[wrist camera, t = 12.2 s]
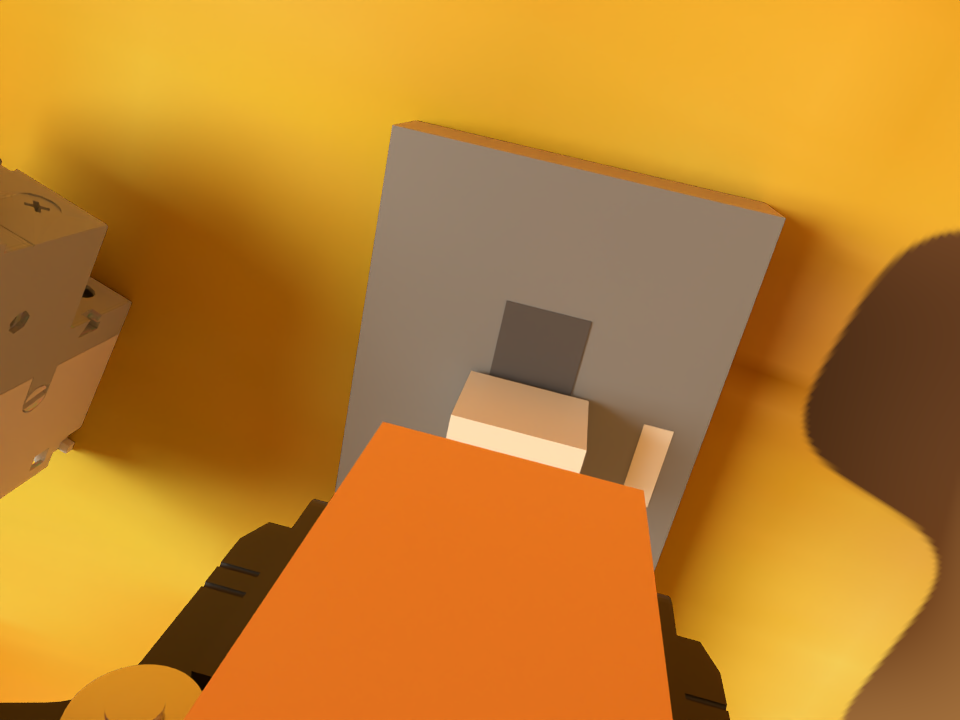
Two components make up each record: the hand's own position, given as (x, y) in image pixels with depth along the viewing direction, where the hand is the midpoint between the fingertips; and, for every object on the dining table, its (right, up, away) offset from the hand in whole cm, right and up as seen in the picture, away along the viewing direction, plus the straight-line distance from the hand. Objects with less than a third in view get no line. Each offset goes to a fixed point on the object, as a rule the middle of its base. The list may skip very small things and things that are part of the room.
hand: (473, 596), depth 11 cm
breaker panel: (+1, -2, +19) cm, 19 cm away
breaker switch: (+1, +1, +14) cm, 14 cm away
